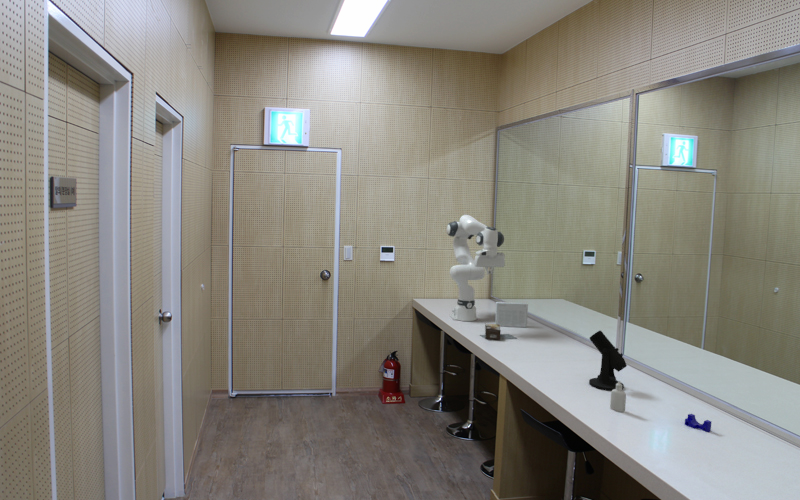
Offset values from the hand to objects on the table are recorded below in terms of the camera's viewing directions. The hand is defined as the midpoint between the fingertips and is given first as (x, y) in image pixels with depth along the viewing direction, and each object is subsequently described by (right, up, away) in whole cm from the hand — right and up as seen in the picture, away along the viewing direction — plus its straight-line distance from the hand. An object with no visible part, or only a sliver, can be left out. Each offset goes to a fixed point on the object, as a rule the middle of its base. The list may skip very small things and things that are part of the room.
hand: (489, 273), depth 347 cm
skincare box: (+18, -37, +19) cm, 45 cm away
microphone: (+37, -47, -98) cm, 115 cm away
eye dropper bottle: (+31, -50, -129) cm, 141 cm away
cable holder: (+55, -52, -144) cm, 163 cm away
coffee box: (+1, -34, -5) cm, 35 cm away
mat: (+4, -39, -13) cm, 41 cm away
